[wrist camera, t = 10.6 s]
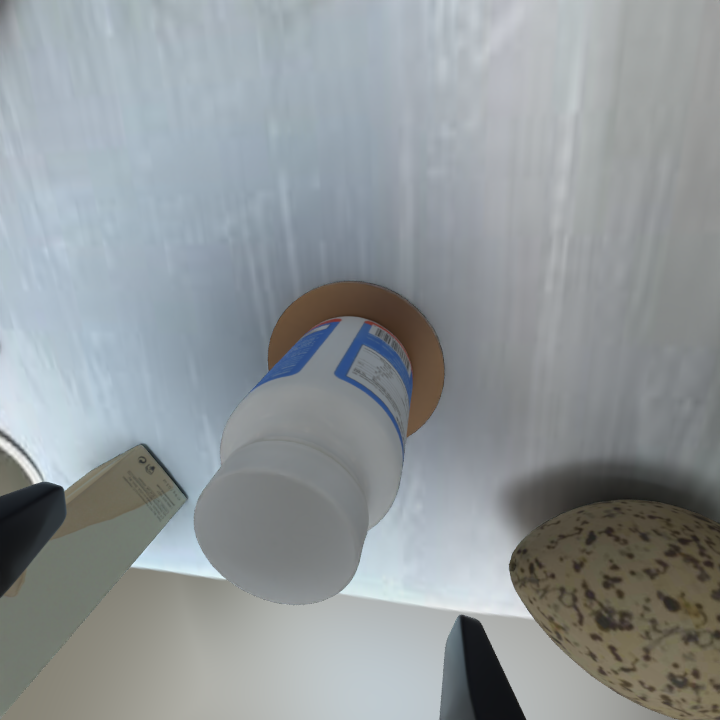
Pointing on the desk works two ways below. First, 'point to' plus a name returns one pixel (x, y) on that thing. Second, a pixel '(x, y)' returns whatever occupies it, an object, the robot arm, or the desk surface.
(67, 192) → the desk surface
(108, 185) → the desk surface
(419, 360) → the coaster
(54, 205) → the desk surface
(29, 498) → the robot arm
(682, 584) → the decorative egg
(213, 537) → the pill bottle
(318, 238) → the desk surface
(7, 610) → the box
